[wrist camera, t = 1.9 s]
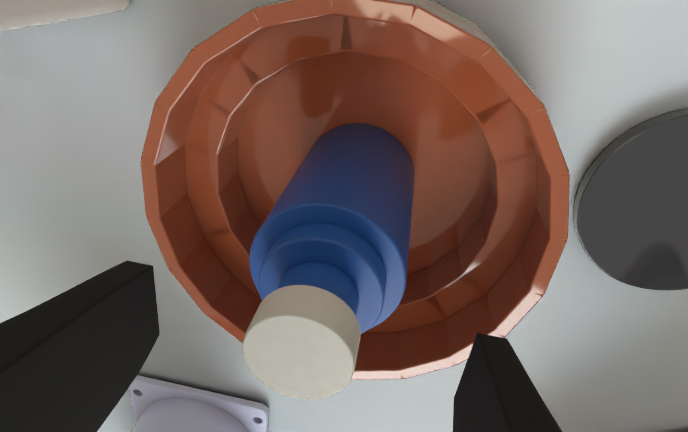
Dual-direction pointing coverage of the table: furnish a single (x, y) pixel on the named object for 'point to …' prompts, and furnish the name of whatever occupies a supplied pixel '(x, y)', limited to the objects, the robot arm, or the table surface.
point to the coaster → (639, 205)
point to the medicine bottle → (52, 11)
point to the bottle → (330, 261)
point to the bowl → (383, 112)
